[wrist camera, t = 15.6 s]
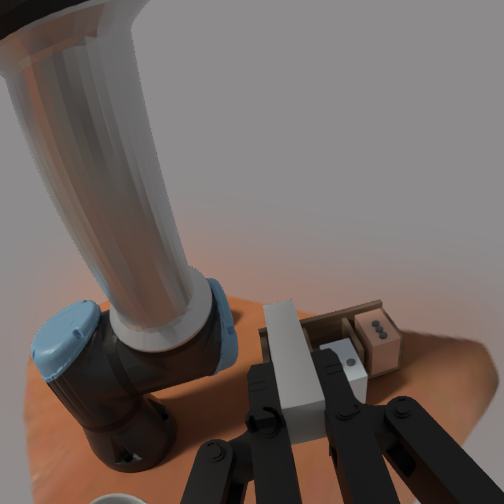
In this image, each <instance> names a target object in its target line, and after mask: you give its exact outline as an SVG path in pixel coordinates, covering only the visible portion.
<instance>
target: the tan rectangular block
mask: <svg viewBox="0 0 504 504" xmlns="http://www.w3.org/2000/svg"><path fill="white" fill-rule="evenodd" d="M355 334H356V336H357V338H358V339H359V341H360V343H361V345H362V347H363V349H364V362H365V364H366V366H367V368H368V369H369V371H370V373H371V375H374V374H377V373H380V372H383V371H386V370H389V369H392V368H395V367H397V365H398V357H399V350H400V341H401V337H400V336H399V335H398V333H397V332H396V330H395V329H394V328H393V326H392V325H391V323H390V322H389V321H388V319H387V318H386V316H385V315H384V314H383V312H382V311H381V310H380V308H379V309H376V310H372V311H369V312H365V313H361V314H358V315H355Z"/></svg>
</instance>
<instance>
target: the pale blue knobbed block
mask: <svg viewBox="0 0 504 504" xmlns="http://www.w3.org/2000/svg"><path fill="white" fill-rule="evenodd" d="M326 348H330V349H332V350H333V351H334V352H335V353H336V354H337V355H338V357H339V360H340V362H341V364H342V367H343V369H344V371H345V374H346V376H347V379H348V381H349V383H350V386H351V388H352V391H353V393H354V395H355V397H356V399H358V400H359V401H360V402H361V403H363V404H364V403H365V402H366V391H367V377H368V375H367V373H366V371H365V369H364V367H363V365H362V363H361V361H360V359H359V357H358V355H357V353H356V351H355V349H354V347H353V345H352V343H351V341H350V339H349V338H347V339H343V340H339V341H335V342H332V343H328V344H324V345H320V350H322V349H326Z"/></svg>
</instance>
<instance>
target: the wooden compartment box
mask: <svg viewBox="0 0 504 504" xmlns="http://www.w3.org/2000/svg"><path fill="white" fill-rule="evenodd" d="M379 308H380V310H381V311H382V312H383V314H384V315H385V316H386V318H387V319H388V321H389V322H390V323H391V325H392V326H393V328H394V329H395V330H396V332H397V333H398V335H399V336H400V337H401V341H400V350H399V357H398V365H397V367H395V368H392V369H389V370H386V371H383V372H380V373H377V374H374V375H371V373H370V371H369V369H368V368H367V366H366V364H365V362H364V349H363V347H362V345H361V343H360V341H359V339H358V338H357V336H356V334H355V315H358V314H361V313H365V312H369V311H372V310H376V309H379ZM299 322H300V325H301V328H302V331H303V334H304V337H305V340H306V343H307V346H308V349H309V352H314V351H318V350H320V345H324V344H328V343H332V342H335V341H339V340H343V339H347V338H349V339H350V341H351V343H352V345H353V347H354V349H355V351H356V353H357V355H358V357H359V359H360V361H361V363H362V365H363V367H364V369H365V371H366V373H367V375H368V377H367V380H368V379H371V378H375V377H378V376H381V375H384V374H387V373H390V372H392V371H395V370H398V369H400V365H401V358H402V351H403V343H404V336H403V335H402V333H401V332H400V330H399V329H398V328H397V327H396V325H395V324H394V322H393V321H392V320H391V318H390V317H389V316H388V314H387V313H386V312H385V310H384V309H383V308H382V301H381V300H376V301H372V302H369V303H365V304H361V305H358V306H354V307H350V308H347V309H343V310H339V311H335V312H331V313H327V314H323V315H319V316H315V317H310V318H306V319H302V320H299ZM258 330H259V335H260V340H261V348H262V355H263V362H264V363H268V362H272V358H271V352H270V346H269V341H268V331H267V327H265V328H261V329H258Z"/></svg>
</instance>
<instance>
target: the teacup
mask: <svg viewBox="0 0 504 504" xmlns="http://www.w3.org/2000/svg"><path fill="white" fill-rule="evenodd" d="M90 504H148V503H147V502H145V501H144V500H142V499H140V498H138V497H135V496H132V495H128V494H120V493H114V494H108V495H104V496H101V497H99V498H97V499H95V500H94V501H92V502H91V503H90Z"/></svg>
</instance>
